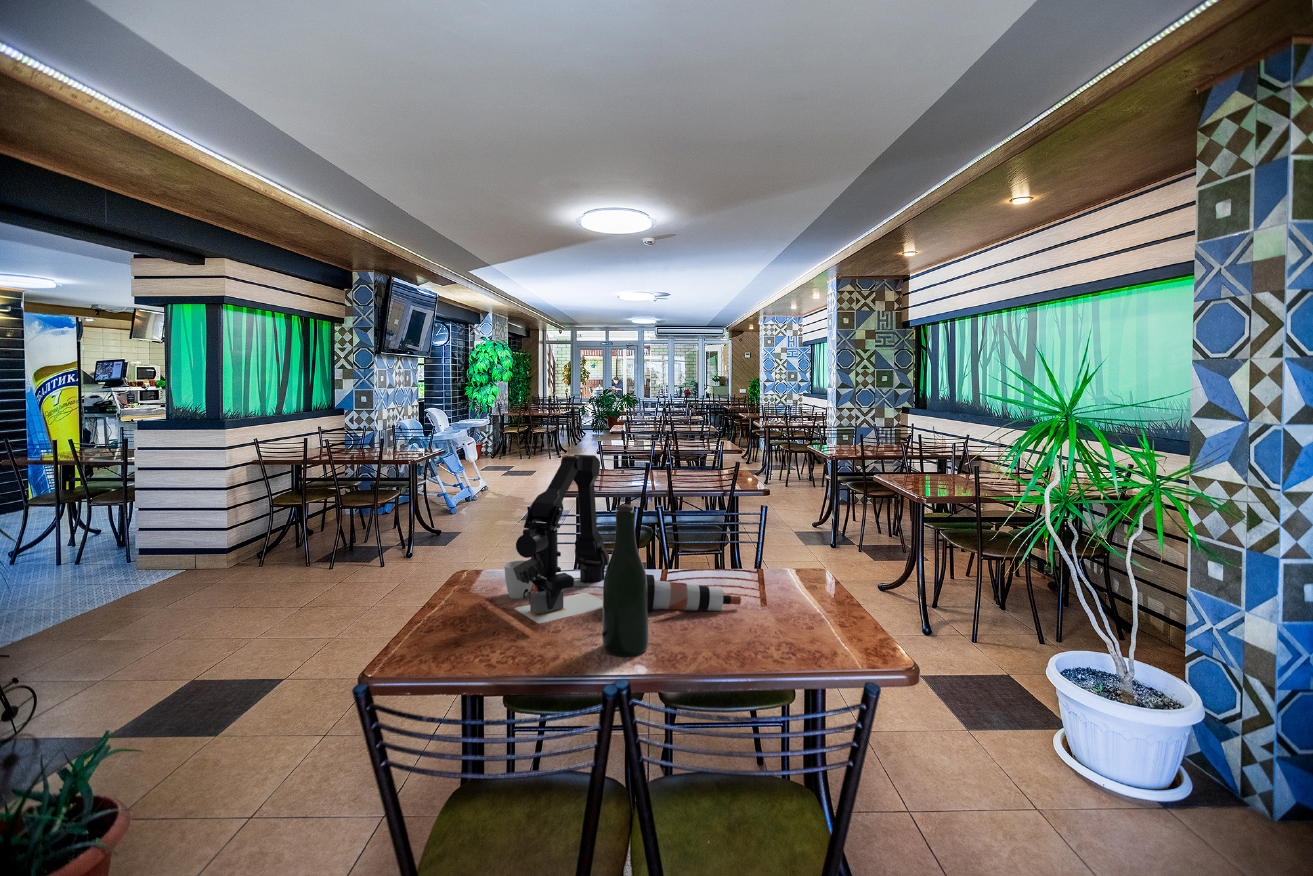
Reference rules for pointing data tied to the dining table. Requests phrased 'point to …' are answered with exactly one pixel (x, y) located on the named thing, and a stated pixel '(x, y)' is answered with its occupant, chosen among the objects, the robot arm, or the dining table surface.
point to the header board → (565, 608)
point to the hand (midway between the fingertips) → (547, 607)
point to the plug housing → (544, 602)
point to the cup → (516, 582)
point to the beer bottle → (625, 592)
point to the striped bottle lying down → (685, 596)
